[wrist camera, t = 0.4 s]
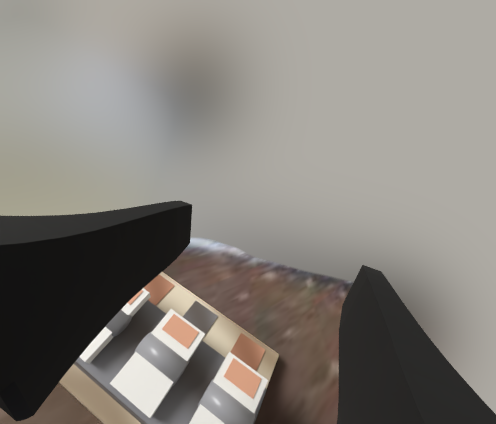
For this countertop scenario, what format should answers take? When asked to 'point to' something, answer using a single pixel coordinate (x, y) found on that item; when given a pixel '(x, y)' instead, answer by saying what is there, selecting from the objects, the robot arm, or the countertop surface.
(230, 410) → the rocker end near
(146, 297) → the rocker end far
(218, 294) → the countertop surface
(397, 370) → the robot arm
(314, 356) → the countertop surface
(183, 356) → the rocker middle
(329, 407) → the countertop surface
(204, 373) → the switch unit
